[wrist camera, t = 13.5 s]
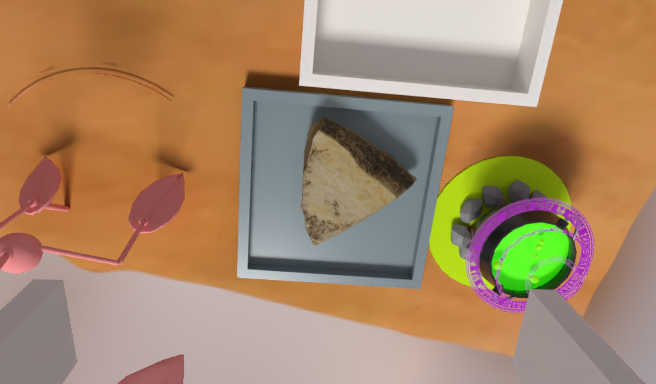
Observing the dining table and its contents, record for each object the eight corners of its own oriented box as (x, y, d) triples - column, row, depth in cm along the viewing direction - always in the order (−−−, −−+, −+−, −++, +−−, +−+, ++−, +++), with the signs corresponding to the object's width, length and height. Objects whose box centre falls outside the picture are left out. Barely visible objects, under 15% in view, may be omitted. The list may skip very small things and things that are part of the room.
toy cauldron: (501, 310, 50) (550, 384, 40) (397, 241, 47) (421, 301, 36) (601, 209, 46) (684, 260, 36) (495, 125, 43) (554, 155, 32)
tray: (239, 269, 47) (237, 277, 46) (244, 86, 41) (242, 88, 39) (417, 281, 48) (420, 288, 47) (449, 104, 42) (454, 106, 40)
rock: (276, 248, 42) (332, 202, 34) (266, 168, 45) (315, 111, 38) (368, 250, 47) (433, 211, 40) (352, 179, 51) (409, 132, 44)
